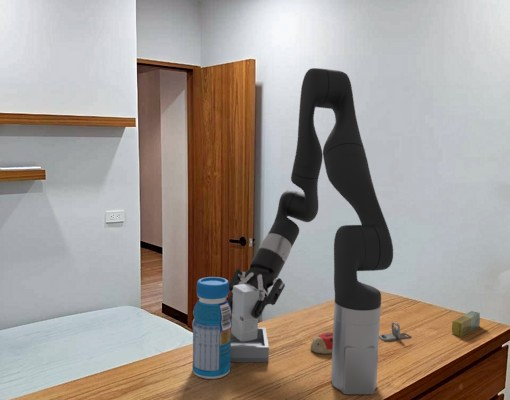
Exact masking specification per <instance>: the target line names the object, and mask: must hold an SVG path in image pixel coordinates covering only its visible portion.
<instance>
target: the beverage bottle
mask: <svg viewBox="0 0 510 400" xmlns="http://www.w3.org/2000/svg"><path fill="white" fill-rule="evenodd" d="M229 283H230V282H229V280H228V279H226V278H223V277H218V276H217V277H216V276H208V277H202V278H199V279H198V280H197V282H196V296H197V298H199V299H198V300H197V301H196V303H195V305H194V306H193V311H192V315H193V317H194V318H193V320H192V323H191V324H192V325H191V327H192V372H193V374H194V375H195V376H196V377H199V378H201V379H206V380H215V379H221V378H223V377H225V376H227V375H228V374H230V372H231V362H230V354H231V328H232V318H231V317H232V311H231V307H230V305H229V303H228V300H227V298H228V297H229V293H230V291H229Z"/></svg>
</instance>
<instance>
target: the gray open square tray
mask: <svg viewBox="0 0 510 400" xmlns="http://www.w3.org/2000/svg"><path fill="white" fill-rule="evenodd" d="M269 349H270V346H269V341H268V334H267V329H266V327H258V330H257V339H254V340H250V341H244V342H242V341H240V340H239V339H237V338H236V337H235V336H234V335H233V334H232V333H231V354H230V363H269V355H270V354H269V353H270V351H269Z"/></svg>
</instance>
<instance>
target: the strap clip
mask: <svg viewBox="0 0 510 400" xmlns="http://www.w3.org/2000/svg"><path fill="white" fill-rule="evenodd" d="M400 327H401V326H400V324H399V323H398V322H395V321H392V322H391V333H383V334H379V340H381V341H383V342H392V341H397V339H398V340H407V339H411V338H412V336H411V335H409V334H408V333H404V332H402V333H401V328H400Z"/></svg>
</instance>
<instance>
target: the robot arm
mask: <svg viewBox="0 0 510 400" xmlns="http://www.w3.org/2000/svg"><path fill="white" fill-rule="evenodd" d="M352 88H353V87H352V83H351V79H350V77H349V75H348V74H347V73H345V72H344V71H341V70H337V69H330V68H323V67H321V68H320V67H311V68H309V69H308V70H307V71H306V73H305V74H304V77H303V80H302V84H301V88H300V89H301V90H300V98H299V109H298V111H299V112H298V130H297V141H296V151H295V156H294V161H293V165H292V171H291V175H290V181H291V183H292V184H294V185H295V186H297V188H300V189H301V190H302V191H303V193H302V192H299V191H296V190H293V189H289V190H288V189H287V190H285V191H284V192H283V193H282V194H281V195H280V198H279V200H278V206H277V210H276V211H277V212H276V216H275V219H274V222H273V224H272V226H271V228H270V230H269V231H268V233H267V235H266V236H265V237H264V239H263V240H262V241H261V244H260V245H259V247H258V249H257V251H256V252H255V255H254V256H253V258H252V260H251V262H250V267H249V269H247V270H246V271H242V270H241V268H237V269H236V270H235V272H234V274H233V275H232V277H231V279H230V281H229V282H228V283H229V293H230V294H231V295H230V296H229V298H228V300H227V301H228V303H229V305H230V307H231V311H232V303H233V286H235V285H240V284H249V285H251V286H254V287H255V288H256V289H258V290H259V291H260V293H259V300H258V301H257V303H256V305H255V307H254V309H253V310H252V312H251V315H252V316H253V317H254V318H256V319H257V318H258V319H259V318H260V317H261V315H262V313H263V312H264V310H265V307H266V306H268V305H271V306H274V305H276V303H277V301H278V299H279V297H280V296H281V295H282V292H283V290H284V288H285V287H286V284H285V283H284V281H283V280H282V278H278V277H279V275H280V273H281V271H282V270H283V267H284V265H285V264H286V262H287V259H288V258H289V256H290V253H291V250H292V247H293V246H294V244H295V242H296V240H297V238H298V236H299V234H300V228H299V226H298V224H297V223H296V222H294V220H292V219H291V218H293V219H295V220H299V221H301V222H304V223H310V222H312V221H313V220H314V219H316V217H317V215H318V212H319V195H318V194H319V193H318V188H319V187H318V185H319V184H318V183H319V182H318V181H319V178H320V177H319V176H320V172H321V169H322V164H324V167H325V171H326V176H327V178H328V181H329V182H330V184H331V185H332V187H333V188H334V189H335V190H336V191H337V193H339V194H340V195H341V196H342V197H343V199H344V200H346V202H347V203H349V205H350V206H351V207H352V208H353V210H354V211H355V213H356V215H357V217H358V218H359V221H360V224H348V225H347V224H345V225H341V226H339V227H338V229H336V233H335V235H334V241H333V242H334V243H333V287H334V288H333V289H334V303H333V305H334V306H333V311H334V312H333V328H332V329H333V330H332V332H333V347H332V353H331V377H330V378H331V379H330V381H331V385H332V386H333V387H334V388H336V389H337V390H339V391H341V392H342V394H344V395H374V394H375V391H376V389H377V381H378V364H379V361H378V360H379V346H380V345H379V342H380V338H379V336H380V325H381V324H380V322H381V309H382V308H381V306H382V294H381V293H382V292H381V291H380V290H379V289H378V288H376V287H374V286H372V285H369V284H366V283H363V282H361V281H359V280H358V272H369V271H370V272H374V271H384V270H387V269H389V267H391V265H392V263H393V259H394V246H393V240H392V236H391V233H390V230H389V228H388V224H387V222H386V218H385V216H384V214H383V211H382V208H381V205H380V202H379V200H378V197H377V194H376V190H375V186H374V182H373V179H372V175H371V171H370V167H369V162H368V158H367V153H366V149H365V147H364V144H363V141H362V140H363V139H362V137H361V134H360V129H359V125H358V121H357V114H356V108H355V101H354V96H353V94H354V92H353V89H352ZM316 108H321V109H329V110H332V111H333V113H334V117H335V123H334V124H333V125H334V126H333V128H332V129H331V131H330V133H329V134H328V137H327V138H326V141H325V143H324V145H323V149H322V146H321V142H320V139H319V137H318V135H317V134H318V133H317V132H316V127H315V120H314V119H315V110H316ZM323 162H324V163H323ZM271 287H272V288H271ZM269 288H271V289H270V291H269Z"/></svg>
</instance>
